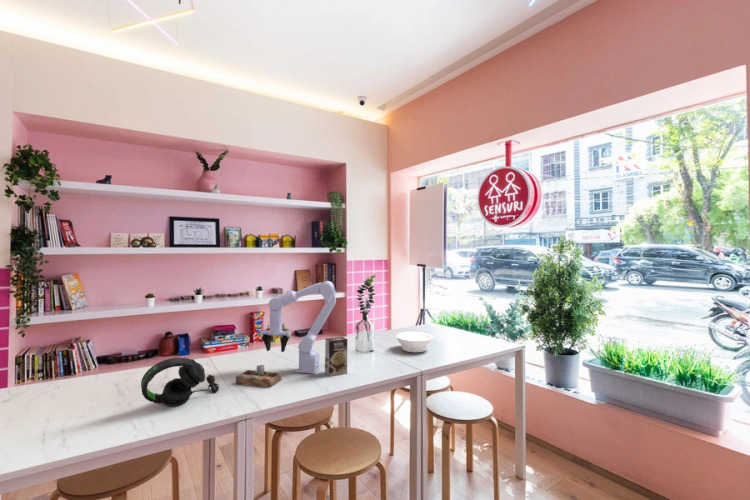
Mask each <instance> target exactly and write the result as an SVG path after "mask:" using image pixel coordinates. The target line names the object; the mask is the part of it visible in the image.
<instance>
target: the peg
mask: <svg viewBox="0 0 750 500" xmlns="http://www.w3.org/2000/svg"><path fill="white" fill-rule="evenodd" d="M256 371H257V376H263V375H264V371H265V365H264V364H260V365H259V364H258V365H257V366H256Z"/></svg>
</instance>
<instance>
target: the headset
mask: <svg viewBox="0 0 750 500" xmlns="http://www.w3.org/2000/svg"><path fill="white" fill-rule="evenodd" d="M174 367H175V368H176V367H178V368H179V369H178V376H179V378H177V377H176V378H175V377H174V378H173V379H171V380H169V381H168V382H167V383H165V385H164V386H163V391H162V392H161V393H157V392H153V391H151V390H150V389H148V386H149V383H151V381H152V380H153V379H154V378H155V376H156V375H157V374H160V373H161V372H162V371H165V370H168V369H171V368H174ZM205 380H206V381H207V383H208V388H207V389H203V390H202V389H200V390H192V389H193V388H196V387H197V386H198V385H199V384H200V383H204V381H205ZM215 381H216V377H215V376H214V375H212V374H208V376H206V374H205V368H204V367H203V365H202V364H201V363H199V362H197V361H196V360H195V359H193V358H192V359H190V358H186V357H173V358H168V359H164V360H162V361H159V362H157V363H155V364H154V365H152V366H151V367H150V368H149V369H148V370H147V371H146V372H145V373H144V375H143V377H142V378H141V381H140V387H141V388H140V390H141V394H142V395H143V397H144V399H145V400H147V401H148V402H150V403H153V404H158V405H164V406H166V407H169V408H174V407H175V408H176V407H179V406H182V405H184V404H186V403H187V402H188V401H189V400H190V396H192V395H193V394H195V393H198V392H205V391H211V392H212V393H213V394H215V393H217V392H219V390H220V384H219V383H216V382H215Z"/></svg>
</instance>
